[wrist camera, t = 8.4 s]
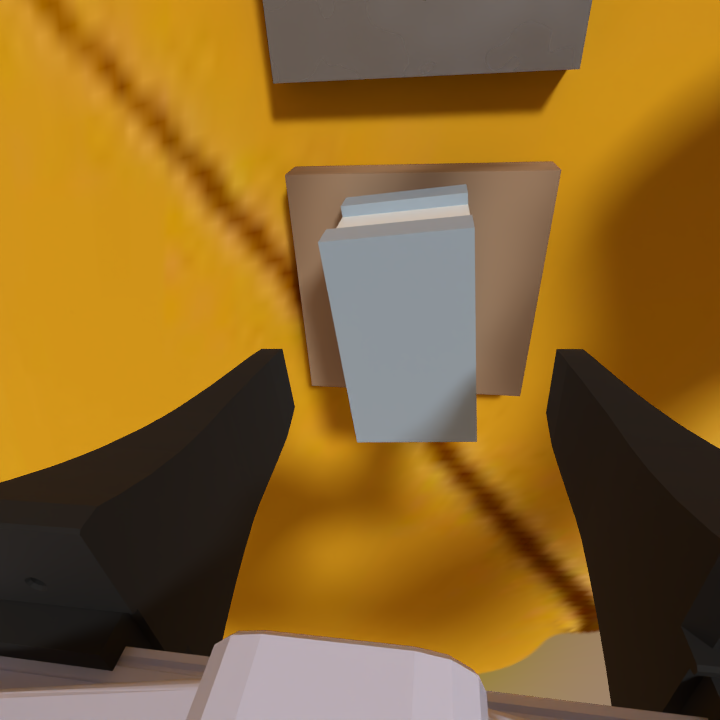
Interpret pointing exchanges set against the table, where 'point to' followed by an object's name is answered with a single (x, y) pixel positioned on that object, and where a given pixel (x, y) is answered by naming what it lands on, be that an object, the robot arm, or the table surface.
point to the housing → (406, 313)
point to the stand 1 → (421, 37)
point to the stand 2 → (492, 253)
